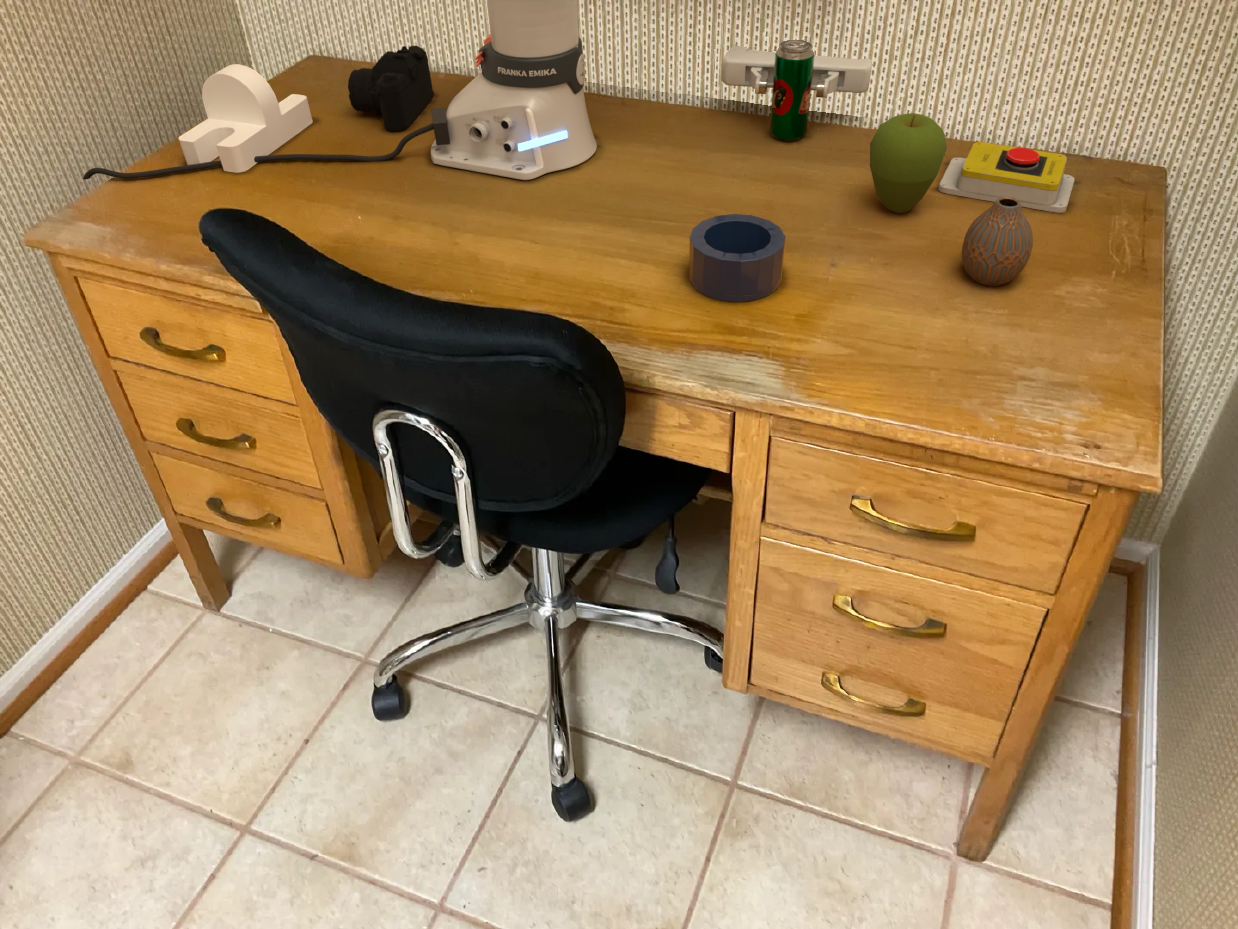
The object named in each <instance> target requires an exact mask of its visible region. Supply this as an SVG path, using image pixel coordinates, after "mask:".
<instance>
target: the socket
mask: <svg viewBox="0 0 1238 929" xmlns="http://www.w3.org/2000/svg"><path fill="white" fill-rule="evenodd" d="M785 246H786V235H785V233H784V231H783V230H782V228H781V227H780V226H779V225H777V224H776V223H775V222H773V221H771V220H769V219H766V218H763V217H759V216H756V215H753V214H743V213H728V214H721V215H720V214H719V215H716V216H713V217H709V218H706V219H704V220H701V221H700V222H699V223H698V224H696V225H695V226H694V227H693V228H692V230H691V232H690V235H689V247H688V248H689V249H688V251H689V253H688V254H689V255H688V258H689V259H688V272H689V281H690V284H691V285H692V287H693V288H694V289H695V290H696V291H697V292H698V293H699V294H702V295H704V296H706V297H708V298H710V299H714V300H718V301H722V302H728V303H730V302H731V303H745V302H753V301H756V300H757V301H758V300H760V299H764V298H765V297H768V296H770V295H771V294H772V293H774V292H775V291H776V290H777V289H778V288H779V286H780V285H781V282H782V274H783V268H784V257H785Z"/></svg>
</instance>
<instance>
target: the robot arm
mask: <svg viewBox="0 0 1238 929" xmlns="http://www.w3.org/2000/svg"><path fill="white" fill-rule="evenodd" d="M577 1H578V0H486V7H487V15H488V16H487V17H488V25H489V32H490V34H488V36H487V37H486V38H485V39H484V41H483V45H482V46H481V47H480V48H479V49H478V54H477V55H476V56H475V58H474V60H475V61H476V62H475V67H480V70H481V71H480V73H478V74H477V75H476V76H475V77H474V78H473V79H472V80H471V81H470V82H469V83H467V84H466V85H465V86H464V87H463V88H462V89H461V90H459V92H458V93H457V94H456V95H455V96H454V97H453V98H452V100H451V101H450V103H449V104H448V107H447V109H446V107H435V108H431V118H432V122H431V123H430V124H427V125H425V126H423V127H421V128H417V129H416V130H413V131H411V132H409V133H408V134H406V135H404V137H402V138H401V140H400V141H399V143H398V145H396V148H394V150H393V151H391V152H390V153H386V154H384V155H378V156H369V155H357V154H323V153H321V154H318V153H288V154H269V155H267V156H256V157H255V158H254V161H255V162H258V163H262V162H263V163H264V162H275V161H305V160H306V161H352V162H362V163H372V162H373V163H375V162H386V161H390V160H393V159H394V158H396V157H398V156H399V155H400V154H401V153H402V151H403V149H404V148H405V145H406V144H407V143H409V142H410V141H411V140H413V139H415V138H417V137H419V136H421V135H423V134H426V133H428V132H430V131H433V133H434V141H433V142H432V144H431V147H430V159H431V162H432V163H433V164H434V165H439V166H444V167H450V168H455V169H460V170H466V171H472V172H478V173H482V174H488V175H494V176H500V177H504V178H505V177H506V178H511V179H516V180H521V181H528V180H529V181H530V180H534V179H536V178H539V177H541V176H543V175H545V174H549V173H552V172H556V171H557V172H558V171H562V170H566V169H570V168H573V167H575V166H578V165H580V164H582V163H584V162H586V161H588V160H589V159H590V158H591V157H592V156H593V155H595V153H596V151H597V148H598V143H597V141H596V137H595V135H594V133H593V129H592V126H591V123H590V118H589V115H588V114H589V113H588V108H587V104H586V99H585V98H586V97H585V92H584V86H585V81H586V68H585V67H586V65H585V54H584V49H583V41H582V38H581V37H580V36H579V25H578V24H579V22H578V21H579V20H578V2H577ZM727 51H728V52H727ZM727 51H726V52H725V54H724V56H723V58H722V64H721V82H722V83H723V84H725V85H727V86H730V87H731V86H732V87H749V88H752V89H754V94H755V95H767V91H768V89H773V78H774V65H775V52H766V51H757V50H749V48H746V47H740V46H735V45H733V46H732V47H730V48H729V50H727ZM871 60H872V59H871ZM871 60H870V59H868V58H865V59H859V60H858V59H847V58H838V57H830V56H829V57H828V56H818V55H817V56H816V55H815V56H814V66H813V76H812V86H811V91H815V98H822V99H827V98H828V95H829V94H832V93H834V92H835V93H836V92H837V93H853V94H862V93H865V92H867V91H869V88H870V82H871V74H872V68H873V63H872V62H873V61H871ZM217 167H223V166H222V163H221V160H220V159H219V160H212V161H211V162H206V163H199V164H192V165H187V164H186V165H177V166H173V167H166V168H159V169H153V170H146V171H138V172H119V171H115V170H112V169H108V168H104V167H93V168H90V169H88V170H87V171H86V172H85V174H84V175H83V177H82V180H89V179H91V178H92V177H93V176H94V175H96V174H100V175H105V176H109V177H112V178H117V179H123V180H129V179H143V178H150V177H157V176H164V175H170V174H176V173H185V172H190V171H197V170H204V169H212V168H217Z"/></svg>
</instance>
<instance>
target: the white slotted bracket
mask: <svg viewBox="0 0 1238 929" xmlns="http://www.w3.org/2000/svg"><path fill="white" fill-rule="evenodd" d="M201 99H202V103H203V107H204V111H205V114H206V116H207V119H204V120H203V121H201V122H200V123H198V124H196V125H195V126H194V127H192V128H191V129H189V130H187V131H186V132H184V133H183V134H180V136H179V137H178V142H179V144H180V148H181V151H182V153H183V156H184V159H185V162H186V165H192V164H199V163H206V162H213V161H215V159H217V158H219V161H220V160H221V163H222V166H221V167H222V169H223V172H230V173H238V174H239V173H244V172H247V171H249V170H250V169H252V167H254V166H255V165H257V164H258V163H259V162H255V161H254V158H255V157H256V156H267V155H271V154H272V153H274V152H275V151H276V150H277V149H279V148H280V147H281V146H283V145H285V144H287V142H289V141H290V140H291V139H293V138H294V137H296V136H297V135H298V134H300V133H301V132H302V131H304V130H305V129H306V128H308V127H309V126H310V125H313V117H312V113H311V109H310V105H309V104H310V103H309V101H308V96H306V95H303V94H296V93H291V94H290V95H288V96H287V97H286V98H284V99H282V100H281V101H279V100H278V99H277V96H276V94H275V91H274V90H273V88H272V87H271V85H270V83H269V82H268V81H267V80H266V79H265V78H264V76H263V75H261V74H260V73H259V72H257V70H255V69H253V68H251V67H249V66H248V65H243V64H240V63H236V64H235V63H233V64H229V65H228V66H227V65H226V66H225V67H223V68H222V69H220V70H219V71H216V72H215V73H213V74H211V75H210V76H208V77H207V78H206V80H205V81H204V82H203V84H202V88H201Z"/></svg>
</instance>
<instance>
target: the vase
mask: <svg viewBox="0 0 1238 929" xmlns="http://www.w3.org/2000/svg"><path fill="white" fill-rule="evenodd" d="M1033 235H1034V234H1033V230H1032V226H1031V224H1030V222H1029V220H1028V218H1027V216H1026V215H1025V213H1024V211H1023V207H1021V203H1020V201H1019V200H1017V199H1015V198H1012V197H1001V198H998V199H997V200H996V201H995V202H993V204H991V206H990V207H988V208H987V209H986V210H984V211H983V212H982V213H980V214H979V215H978V216H976V218H975V219H973V221H972V222H971V224H970V225H969V227H968V229H967V231H966V233H965V235H964V238H963V240H962V245H961V247H962V248H961V260H962V265H963V268H964V269H965V272H966V273H967V275H968V276H969V277H970V278H971V279H972V280H973V281H975V282H976V283H978V284H982V285H985V286H992V287H993V286H996V287H997V286H1002V285H1005V284H1007V283H1009V282H1011V281H1013V280H1014V279H1016V278H1017V277H1018V276H1019V275H1020V274H1021V273H1022V272H1023V270H1024V269H1025V267H1026V266H1027V264H1028V262H1029V260H1030V257H1031V255H1032V251H1033V245H1034V237H1033Z"/></svg>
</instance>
